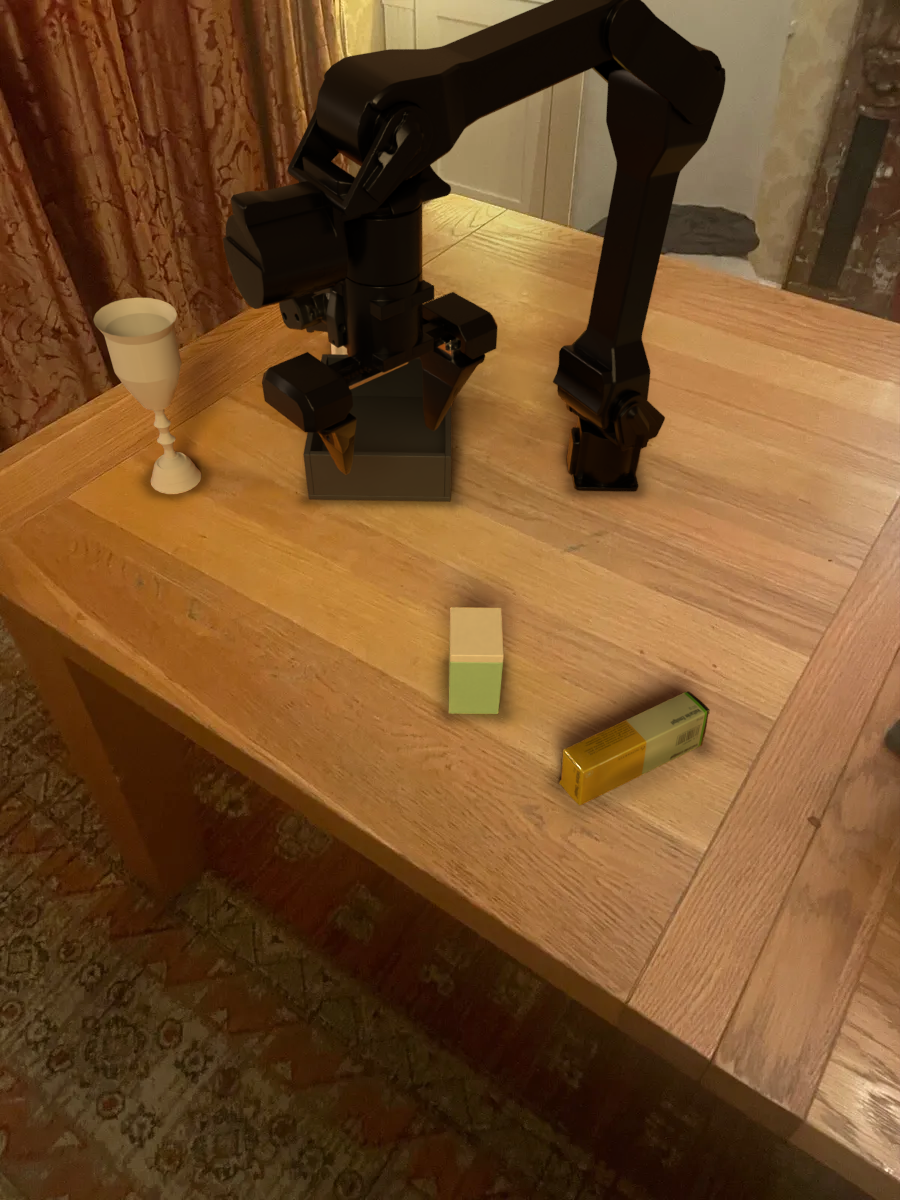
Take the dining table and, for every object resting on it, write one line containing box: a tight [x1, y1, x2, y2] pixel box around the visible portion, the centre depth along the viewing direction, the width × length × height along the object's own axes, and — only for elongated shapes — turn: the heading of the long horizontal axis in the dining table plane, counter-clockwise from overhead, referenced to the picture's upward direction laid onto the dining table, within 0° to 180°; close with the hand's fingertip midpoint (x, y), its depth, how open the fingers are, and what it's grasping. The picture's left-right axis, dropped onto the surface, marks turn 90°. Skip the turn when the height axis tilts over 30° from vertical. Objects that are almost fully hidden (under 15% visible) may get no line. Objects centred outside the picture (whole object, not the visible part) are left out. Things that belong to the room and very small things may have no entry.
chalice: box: [93, 297, 202, 495], centre depth 86 cm, size 7×7×18 cm
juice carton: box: [448, 606, 505, 715], centre depth 72 cm, size 4×5×7 cm
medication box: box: [559, 690, 711, 806], centre depth 68 cm, size 12×3×4 cm, turn 119°
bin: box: [302, 353, 453, 503], centre depth 95 cm, size 14×18×6 cm
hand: (388, 449), depth 75 cm, fingers open, 9 cm apart
